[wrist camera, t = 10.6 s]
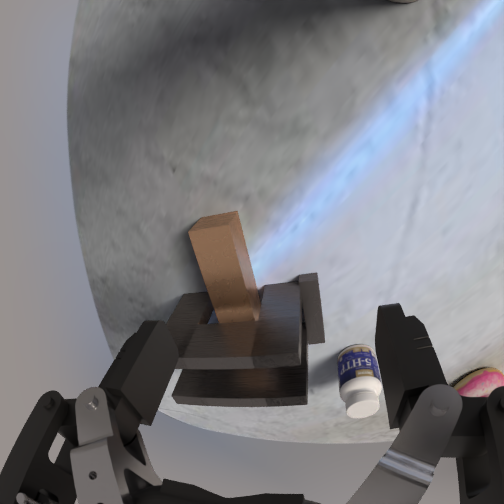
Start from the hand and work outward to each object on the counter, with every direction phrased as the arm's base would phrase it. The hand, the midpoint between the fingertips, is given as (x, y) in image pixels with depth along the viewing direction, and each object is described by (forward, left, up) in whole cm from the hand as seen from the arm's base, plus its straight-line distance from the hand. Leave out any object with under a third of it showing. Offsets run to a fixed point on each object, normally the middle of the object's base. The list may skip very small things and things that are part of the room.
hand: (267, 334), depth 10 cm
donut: (+38, +29, -20) cm, 52 cm away
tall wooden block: (+10, -7, -20) cm, 23 cm away
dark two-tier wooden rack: (+13, -7, -20) cm, 25 cm away
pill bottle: (+23, +6, -20) cm, 31 cm away
